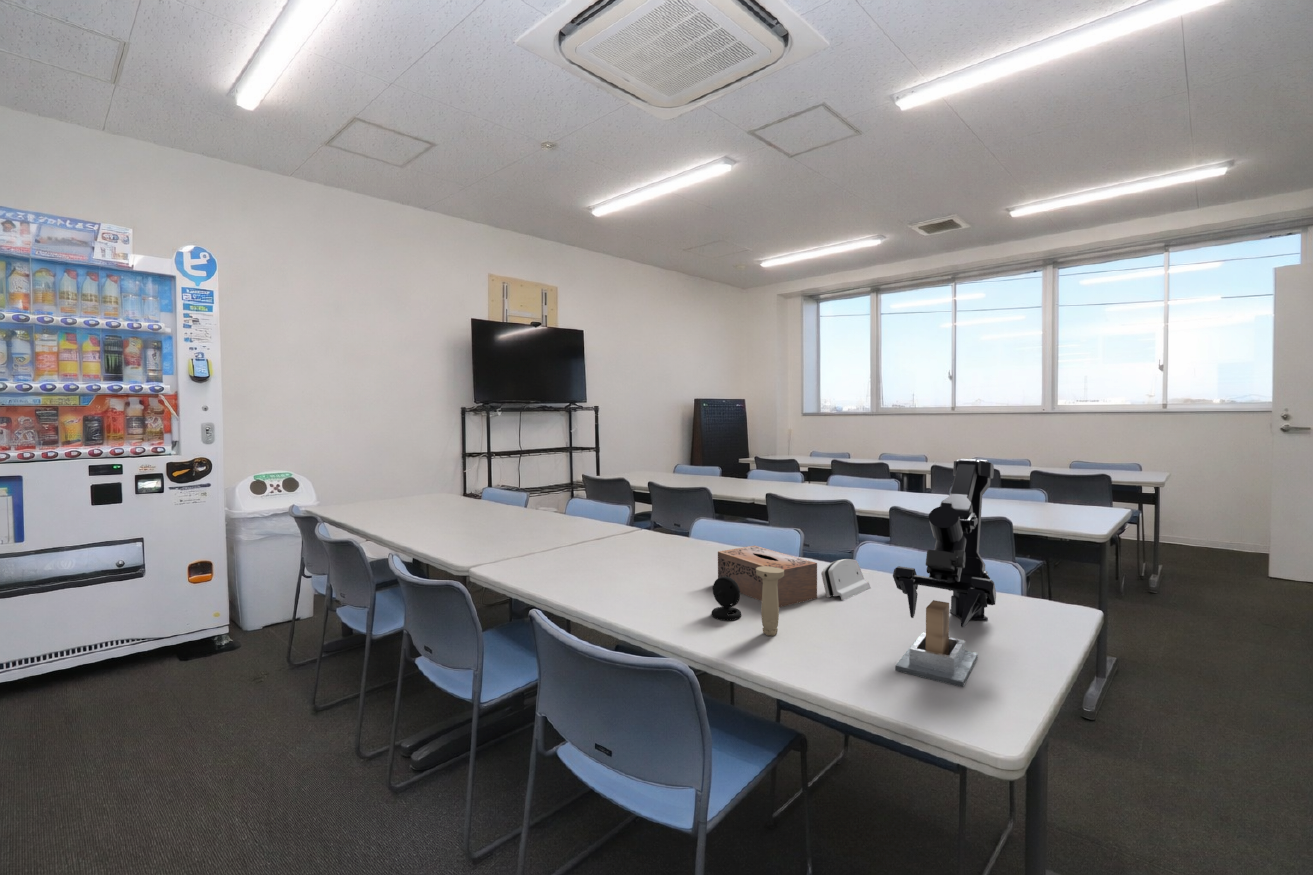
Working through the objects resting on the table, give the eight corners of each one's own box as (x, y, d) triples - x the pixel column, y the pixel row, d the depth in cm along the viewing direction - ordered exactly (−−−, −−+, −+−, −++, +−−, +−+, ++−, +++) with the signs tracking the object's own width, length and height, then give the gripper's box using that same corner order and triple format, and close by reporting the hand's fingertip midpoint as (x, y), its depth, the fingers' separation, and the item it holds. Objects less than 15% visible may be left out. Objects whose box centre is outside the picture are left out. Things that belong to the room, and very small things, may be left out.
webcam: (747, 615, 147) (747, 576, 147) (730, 623, 142) (730, 582, 141) (722, 608, 152) (722, 570, 152) (705, 616, 147) (704, 576, 147)
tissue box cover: (817, 599, 160) (817, 563, 160) (777, 608, 153) (777, 570, 152) (754, 577, 182) (754, 545, 182) (717, 584, 175) (717, 551, 174)
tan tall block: (932, 652, 121) (933, 599, 121) (948, 655, 119) (949, 602, 119) (925, 662, 116) (926, 607, 116) (941, 666, 114) (942, 610, 114)
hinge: (842, 600, 158) (831, 564, 160) (827, 603, 161) (816, 567, 163) (871, 587, 169) (860, 553, 171) (857, 589, 173) (846, 556, 175)
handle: (778, 640, 131) (778, 574, 130) (752, 633, 135) (752, 569, 134) (787, 633, 135) (787, 569, 134) (762, 627, 139) (761, 565, 138)
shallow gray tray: (915, 644, 128) (915, 626, 128) (977, 657, 120) (977, 638, 120) (895, 670, 115) (895, 650, 115) (963, 687, 108) (963, 665, 108)
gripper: (895, 528, 125) (879, 592, 117) (995, 539, 114) (985, 610, 106) (904, 557, 132) (890, 619, 124) (999, 570, 121) (991, 639, 112)
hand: (936, 621), depth 116 cm, fingers open, 9 cm apart
